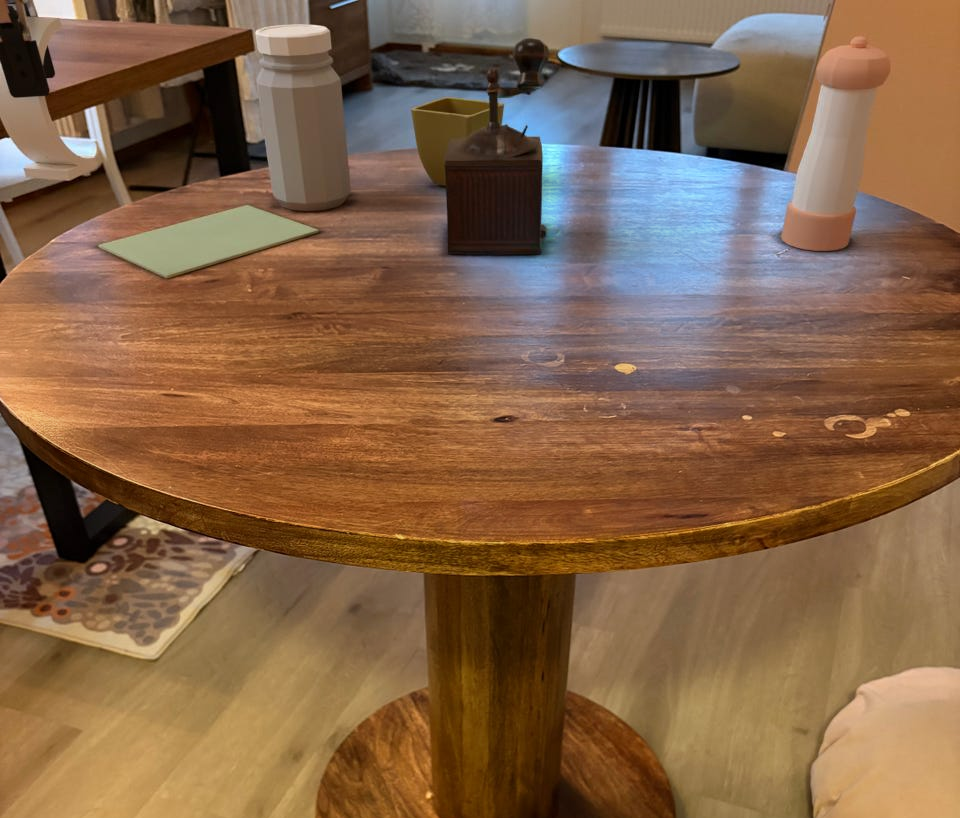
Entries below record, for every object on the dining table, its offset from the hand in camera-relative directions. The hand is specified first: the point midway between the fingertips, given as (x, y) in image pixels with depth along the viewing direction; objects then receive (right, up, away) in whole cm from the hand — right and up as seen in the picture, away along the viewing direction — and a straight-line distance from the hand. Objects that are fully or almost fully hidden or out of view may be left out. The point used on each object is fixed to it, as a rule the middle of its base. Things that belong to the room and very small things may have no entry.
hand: (34, 85), depth 82 cm
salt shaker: (+77, -5, +20) cm, 80 cm away
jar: (+19, +5, +32) cm, 38 cm away
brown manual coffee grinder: (+42, -3, +23) cm, 48 cm away
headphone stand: (0, -6, +5) cm, 7 cm away
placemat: (+10, -5, +21) cm, 24 cm away
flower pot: (+37, +10, +38) cm, 54 cm away
